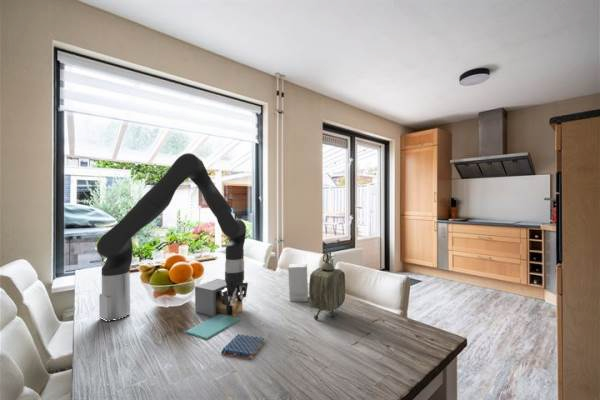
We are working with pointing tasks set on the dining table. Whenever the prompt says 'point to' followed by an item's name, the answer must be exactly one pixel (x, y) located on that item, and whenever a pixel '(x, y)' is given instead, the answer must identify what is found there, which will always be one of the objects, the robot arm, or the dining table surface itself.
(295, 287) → the skincare box
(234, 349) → the woven mat
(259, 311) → the dining table surface
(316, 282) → the tabletop clock
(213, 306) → the cubby shelf
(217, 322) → the teal mat
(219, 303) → the oak plank
